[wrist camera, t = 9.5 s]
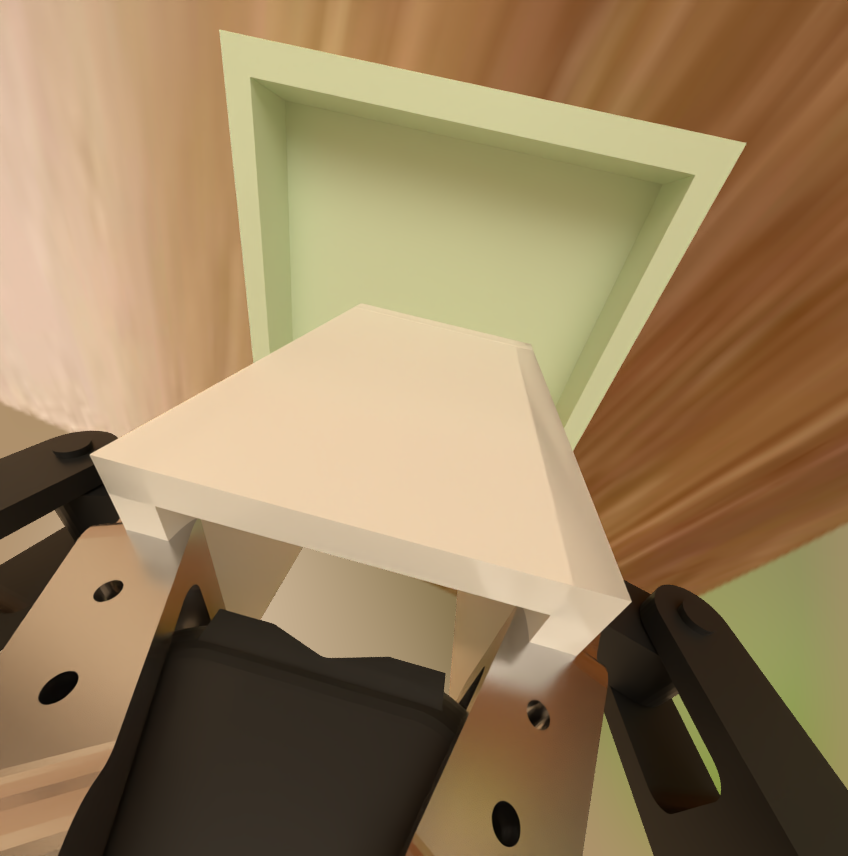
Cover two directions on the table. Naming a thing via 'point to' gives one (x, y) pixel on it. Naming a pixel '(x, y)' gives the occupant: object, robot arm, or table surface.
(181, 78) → the table surface
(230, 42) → the tray
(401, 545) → the mini side table
